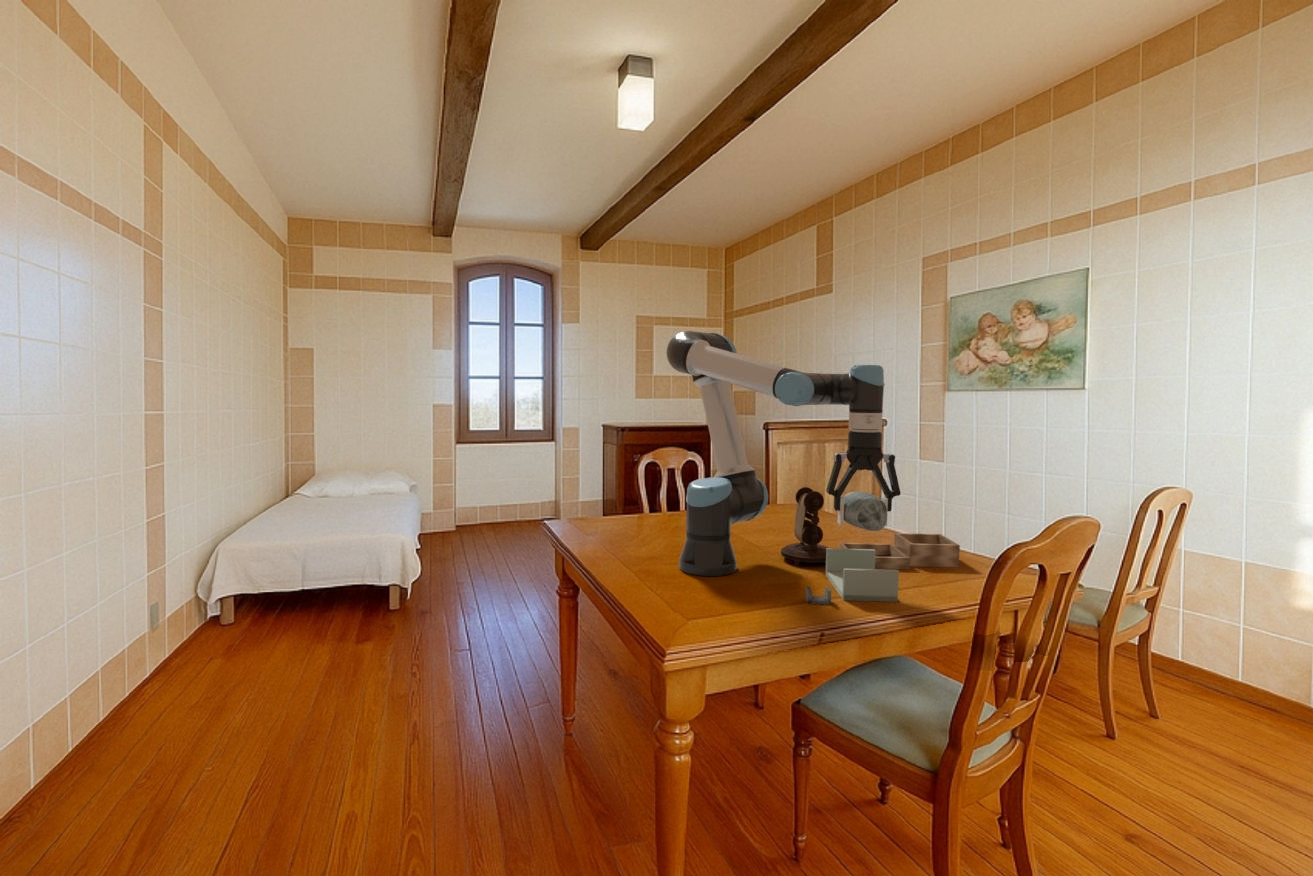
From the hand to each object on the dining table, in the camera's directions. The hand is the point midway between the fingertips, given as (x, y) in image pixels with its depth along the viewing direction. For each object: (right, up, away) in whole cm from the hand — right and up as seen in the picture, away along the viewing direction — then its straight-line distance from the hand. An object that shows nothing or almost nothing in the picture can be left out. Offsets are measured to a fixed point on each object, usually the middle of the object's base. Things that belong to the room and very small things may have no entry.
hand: (861, 524), depth 150 cm
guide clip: (-13, -16, -9) cm, 22 cm away
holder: (0, -15, +1) cm, 15 cm away
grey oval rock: (0, -1, 0) cm, 1 cm away
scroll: (-7, -14, +25) cm, 29 cm away
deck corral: (+11, -13, +25) cm, 30 cm away
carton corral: (+26, -14, +26) cm, 39 cm away
